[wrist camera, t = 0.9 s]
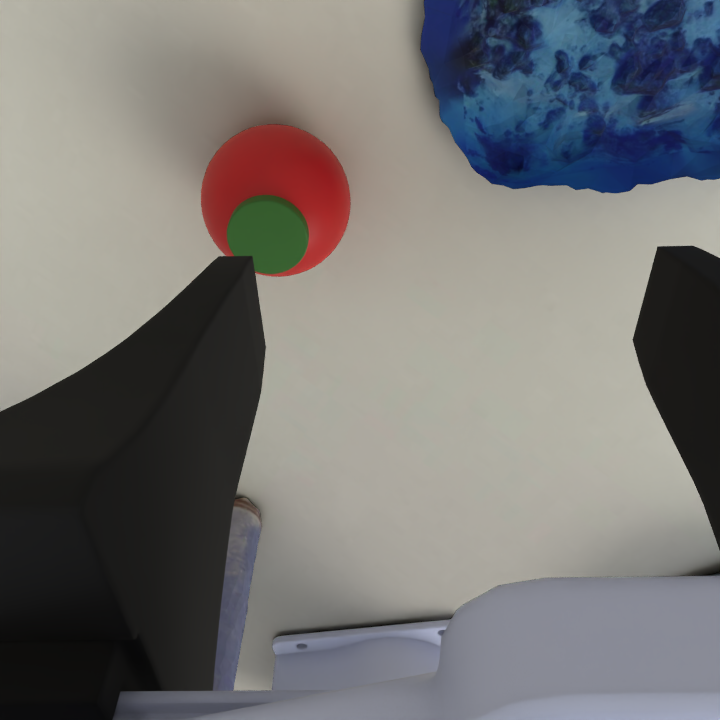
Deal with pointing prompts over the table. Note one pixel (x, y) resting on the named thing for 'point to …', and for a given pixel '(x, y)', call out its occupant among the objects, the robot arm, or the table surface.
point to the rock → (579, 89)
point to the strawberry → (276, 199)
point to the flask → (236, 590)
